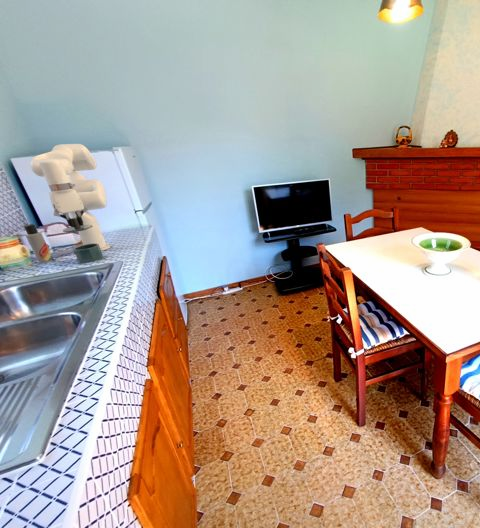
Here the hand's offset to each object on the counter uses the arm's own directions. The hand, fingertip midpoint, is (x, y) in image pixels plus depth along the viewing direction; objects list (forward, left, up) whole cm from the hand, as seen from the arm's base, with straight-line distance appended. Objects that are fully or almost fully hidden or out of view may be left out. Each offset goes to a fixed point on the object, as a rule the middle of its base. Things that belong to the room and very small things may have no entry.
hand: (76, 225), depth 145 cm
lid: (0, 0, -1) cm, 1 cm away
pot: (0, 0, -18) cm, 18 cm away
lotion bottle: (-21, -11, -19) cm, 30 cm away
